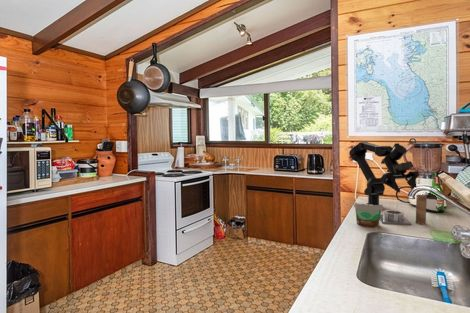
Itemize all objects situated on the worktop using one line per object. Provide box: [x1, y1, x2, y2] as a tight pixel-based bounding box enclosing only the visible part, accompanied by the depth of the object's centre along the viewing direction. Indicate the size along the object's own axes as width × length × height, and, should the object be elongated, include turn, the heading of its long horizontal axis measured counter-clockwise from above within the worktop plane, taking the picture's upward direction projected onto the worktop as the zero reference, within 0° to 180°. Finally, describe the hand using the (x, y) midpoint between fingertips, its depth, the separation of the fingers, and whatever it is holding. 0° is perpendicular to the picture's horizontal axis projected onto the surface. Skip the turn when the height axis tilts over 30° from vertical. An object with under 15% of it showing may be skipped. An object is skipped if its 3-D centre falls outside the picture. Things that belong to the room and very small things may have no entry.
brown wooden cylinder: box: [415, 194, 427, 225], centre depth 141 cm, size 4×4×13 cm
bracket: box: [379, 209, 412, 226], centre depth 146 cm, size 12×12×4 cm
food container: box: [353, 201, 384, 228], centre depth 138 cm, size 12×6×10 cm, turn 70°
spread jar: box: [421, 188, 441, 213], centre depth 164 cm, size 12×11×12 cm
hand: (407, 191), depth 148 cm, fingers open, 9 cm apart
